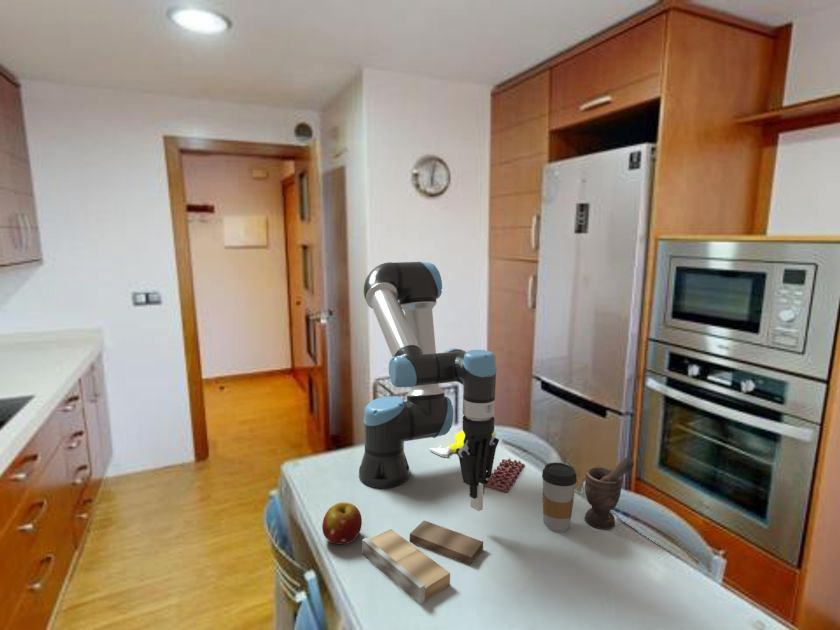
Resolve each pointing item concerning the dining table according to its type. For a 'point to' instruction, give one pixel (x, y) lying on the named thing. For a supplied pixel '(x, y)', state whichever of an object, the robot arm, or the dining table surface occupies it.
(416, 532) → the walnut plank
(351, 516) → the fruit
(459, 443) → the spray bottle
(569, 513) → the coffee cup
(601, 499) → the mortar and pestle
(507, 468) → the chocolate bar
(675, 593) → the dining table surface
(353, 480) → the dining table surface
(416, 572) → the plank row
